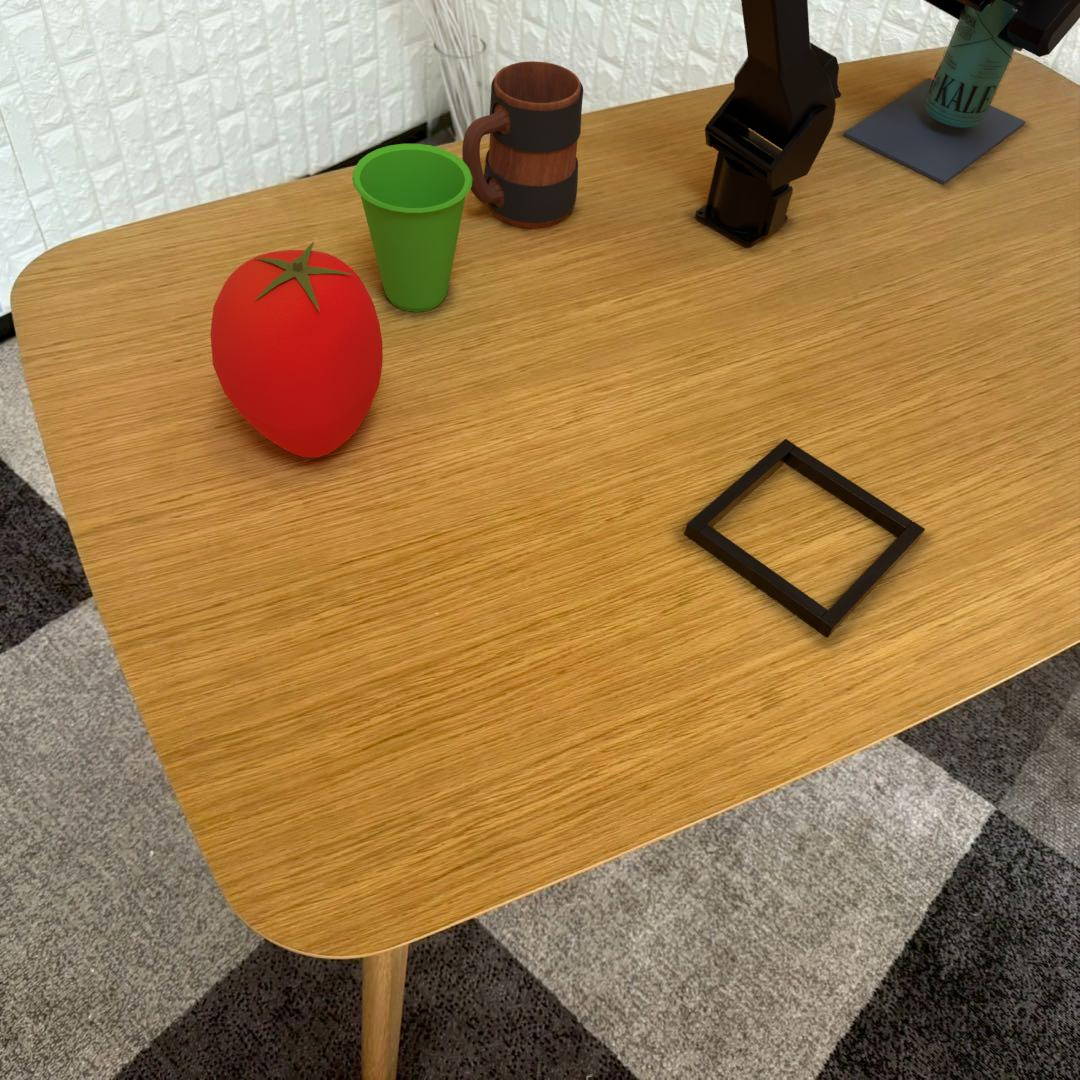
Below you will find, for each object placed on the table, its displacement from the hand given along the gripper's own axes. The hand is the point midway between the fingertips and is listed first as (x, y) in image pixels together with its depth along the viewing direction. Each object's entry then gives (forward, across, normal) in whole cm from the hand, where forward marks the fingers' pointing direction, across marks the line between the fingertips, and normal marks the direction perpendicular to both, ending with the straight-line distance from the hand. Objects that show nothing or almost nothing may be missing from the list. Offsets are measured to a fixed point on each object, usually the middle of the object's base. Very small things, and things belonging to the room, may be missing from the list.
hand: (995, 32), depth 102 cm
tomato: (-48, -1, +63) cm, 80 cm away
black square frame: (-32, -30, +47) cm, 65 cm away
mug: (-28, +12, +43) cm, 52 cm away
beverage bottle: (+6, 0, +8) cm, 10 cm away
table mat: (+5, +1, +9) cm, 10 cm away
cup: (-38, +7, +53) cm, 65 cm away
